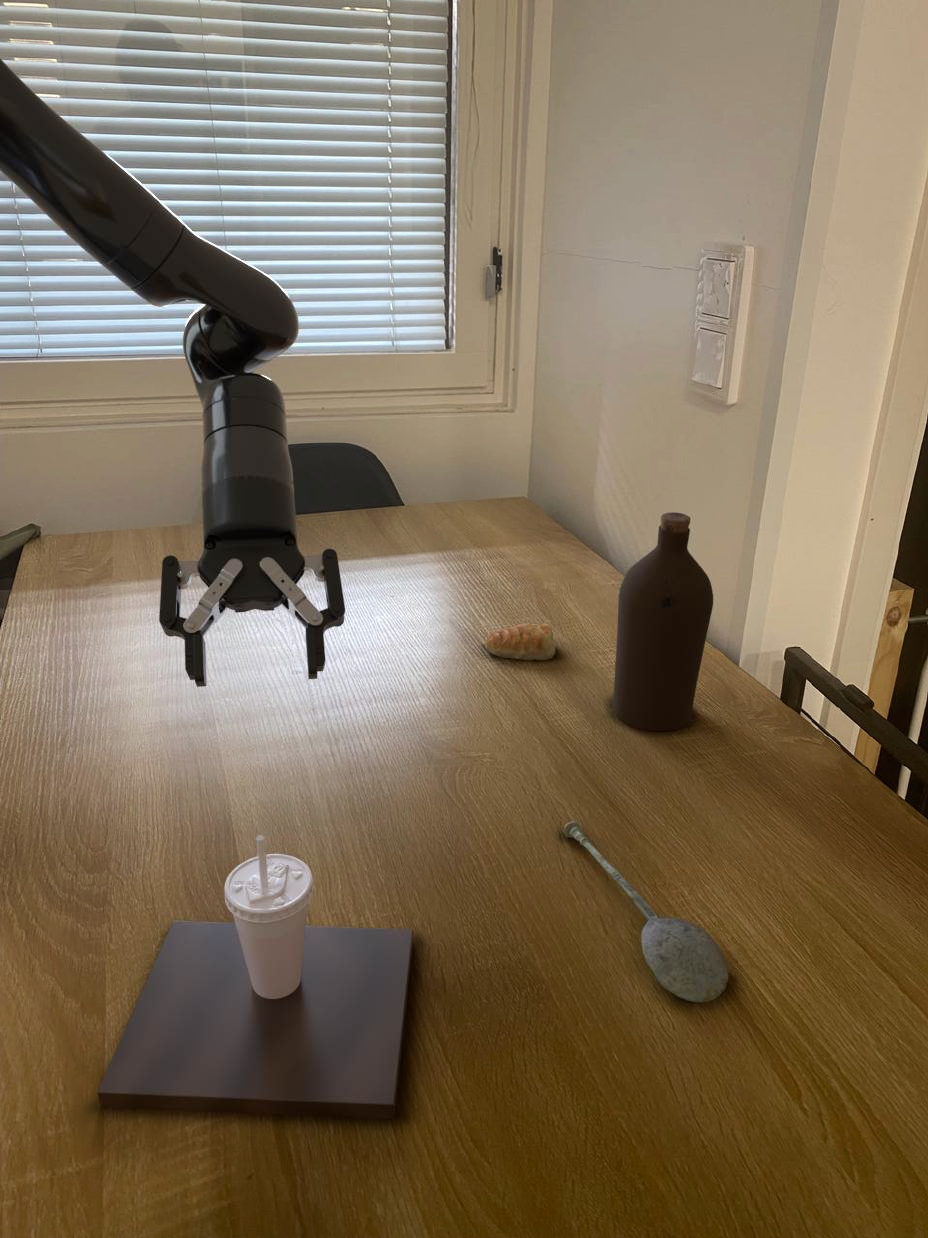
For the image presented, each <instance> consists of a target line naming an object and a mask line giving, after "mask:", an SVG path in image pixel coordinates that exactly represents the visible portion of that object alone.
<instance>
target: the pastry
mask: <svg viewBox="0 0 928 1238" xmlns="http://www.w3.org/2000/svg"><path fill="white" fill-rule="evenodd" d="M484 645H485V646H484V648H485V649H486V650H487V651H488V652H490V653H491V654H492V655H494V656H497V658H498V657H499V658H500V657H501V658H505V659H506V658H508V659H512V660H522V661H533V660H537V661H546V660H550V659H553V656H555V654H556V645H555V640H554V633H553V628H552V625H551V624H548V623H547V622H543V623H541V624H538V623H524V622H521V623H519V624H516V625H515V626H511V627H509V628H502V629H499V630H497V631H494V632H491V633H490V634H488V636H487V638H486V639H485V643H484Z"/></svg>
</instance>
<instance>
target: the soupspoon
mask: <svg viewBox="0 0 928 1238" xmlns="http://www.w3.org/2000/svg"><path fill="white" fill-rule="evenodd" d="M562 829H563V830H562V832H563V834H564V836H565V837H566V838H569V839H574V840H575V841H577V842H578V843H580V846H582V847H584V848H585V849H586V850H587V851H588V853H590V855H591V856H592V857H593V858H594V859H595V860H596V862H597V863H599V865H600V866H601V867H602V868H603V870H605V871H606V873H608V875H609V876H610V877H611V878H612V879H613V880H614V881H615V882H616V883H617V884H618V886H619V887H620V888H621V889H622V890H623V891H624V892H625V894H626V895H627V896H628V897H629V899H630V900H631V901H632V903H633V904H634V905H635V906H636V908H637V909H638V910H639V911H640V912H641V914H642V915H643V916H644V918H645V919H646V920H647V922H646V924H645V925H643V928H642V931H641V933H640V941H641V944H640V945H641V950H642V955H643V957H644V960H645V962H646V964H647V965H648V967H649V969H650V970H651V971H652V973H653V974H654V976H655V978H656V980H658V982H659V984H661V986H662V987H663V988H664V989H666V990H667V991H668V992H670V993H672V994H673V995H675V996H676V997H677V998H680V999H683V1000H685V1001H687V1002H692V1003H702V1004H704V1003H709V1002H711V1001H713V1000H716V999H717V998H719V996H721V995H722V993H724V991H725V989H726V988H727V986H728V983H729V968H728V963H727V960H726V957H725V955H724V953H723V951H722V950H721V948H720V946H719V944H718V943H717V942H716V941H715V939H714V938H713V937H712V936H711V935H710V934H708V932H706V931H705V930H704V929H703V928H702V927H700V926H698V925H696V924H695V923H693V922H691V921H688V920H685V919H682V918H678V917H671V916H659V915H658V914H657V913H656V912H655V911H654V910H653V908H652V907H651V906H650V905H649V903H648V902H647V901H646V900H645V899H644V898H643V897H642V895H640V893H638V891H637V890H636V889H635V888H634V887H633V885H631V883H629V882H628V880H627V879H626V878H625V877H624V876H623V875H622V874H621V873H620V872H619V871H618V870H617V869H616V868H615V867H614V866H613V865H612V864H611V863H610V862H609V861H608V860H607V859H606V858H605V856H603V855H602V854H601V853H600V852H599V851H598V850H597V849H596V847H595V846H593V845H592V844H591V840H590V839H589V838H588V837H586V836H585V834H584V833H583V831H581V826H580V824H579V822H578V821H575V820H574V821H573V820H572V821H570V822H568V823H566V824H565V825H564V827H563V828H562Z"/></svg>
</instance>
